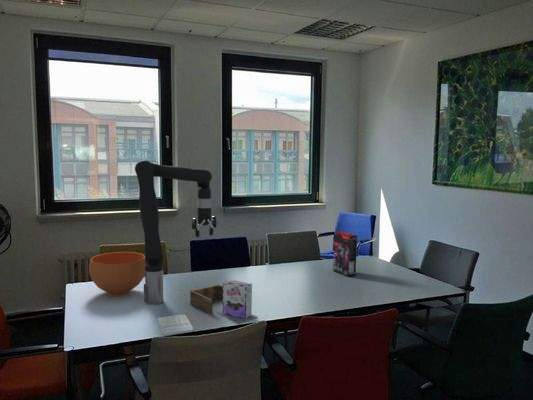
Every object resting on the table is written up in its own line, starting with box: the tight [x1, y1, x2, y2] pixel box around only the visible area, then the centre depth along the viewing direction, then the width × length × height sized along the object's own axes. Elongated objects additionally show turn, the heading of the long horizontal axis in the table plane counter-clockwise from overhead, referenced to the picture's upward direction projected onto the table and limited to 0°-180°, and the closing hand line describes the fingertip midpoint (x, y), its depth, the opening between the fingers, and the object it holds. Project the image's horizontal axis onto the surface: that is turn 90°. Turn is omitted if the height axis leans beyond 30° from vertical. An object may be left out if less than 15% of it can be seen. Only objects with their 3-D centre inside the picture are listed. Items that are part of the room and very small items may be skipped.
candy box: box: [222, 279, 253, 319], centre depth 219 cm, size 14×6×16 cm, turn 60°
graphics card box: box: [332, 231, 358, 277], centre depth 298 cm, size 17×7×27 cm, turn 28°
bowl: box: [88, 251, 145, 298], centre depth 250 cm, size 30×30×20 cm
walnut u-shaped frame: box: [189, 284, 223, 315], centre depth 234 cm, size 18×19×7 cm
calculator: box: [157, 314, 194, 336], centre depth 206 cm, size 13×20×2 cm, turn 22°
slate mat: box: [217, 310, 258, 324], centre depth 220 cm, size 12×17×1 cm
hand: (204, 236), depth 244 cm, fingers open, 8 cm apart
